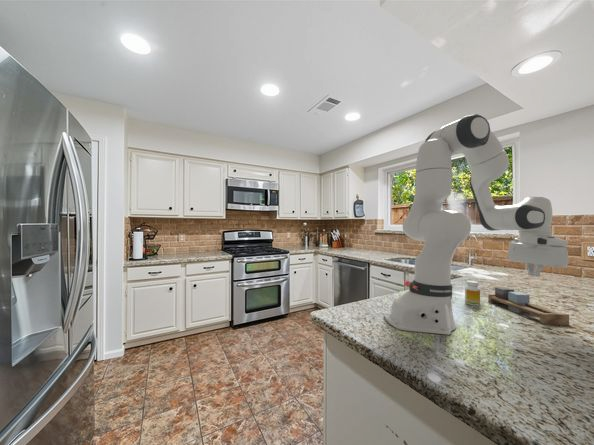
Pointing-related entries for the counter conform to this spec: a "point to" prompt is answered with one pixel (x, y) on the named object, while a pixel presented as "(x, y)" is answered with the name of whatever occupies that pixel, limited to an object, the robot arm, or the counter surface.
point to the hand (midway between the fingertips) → (533, 275)
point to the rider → (519, 298)
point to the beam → (528, 308)
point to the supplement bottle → (472, 293)
